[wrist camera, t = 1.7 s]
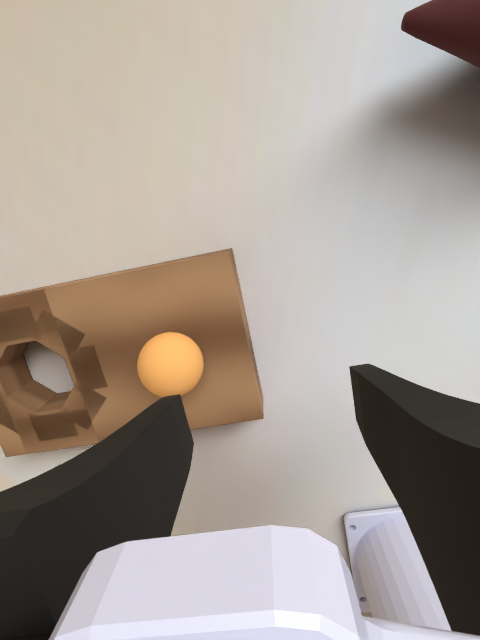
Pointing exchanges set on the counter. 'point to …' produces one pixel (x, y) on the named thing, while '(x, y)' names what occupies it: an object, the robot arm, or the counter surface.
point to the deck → (124, 351)
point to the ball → (170, 364)
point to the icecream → (447, 27)
